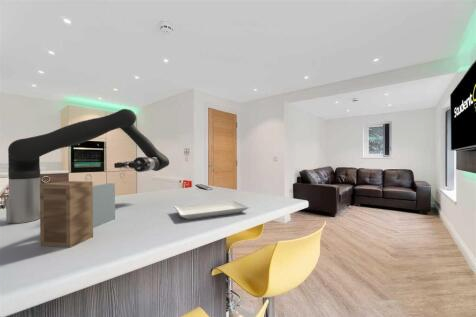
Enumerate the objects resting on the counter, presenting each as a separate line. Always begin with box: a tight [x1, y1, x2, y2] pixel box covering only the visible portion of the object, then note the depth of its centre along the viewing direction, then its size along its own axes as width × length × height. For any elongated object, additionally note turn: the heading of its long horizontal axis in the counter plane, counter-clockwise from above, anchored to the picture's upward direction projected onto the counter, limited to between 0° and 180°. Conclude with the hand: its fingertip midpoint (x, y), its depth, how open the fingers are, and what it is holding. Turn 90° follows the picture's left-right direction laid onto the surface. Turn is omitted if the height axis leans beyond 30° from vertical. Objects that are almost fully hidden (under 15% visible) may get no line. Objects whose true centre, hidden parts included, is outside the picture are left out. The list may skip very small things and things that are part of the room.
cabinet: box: [39, 180, 94, 248], centre depth 68 cm, size 12×12×18 cm
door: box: [93, 182, 116, 229], centre depth 83 cm, size 12×3×15 cm, turn 172°
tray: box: [173, 199, 250, 220], centre depth 99 cm, size 17×32×4 cm, turn 116°
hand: (123, 165), depth 97 cm, fingers open, 8 cm apart
